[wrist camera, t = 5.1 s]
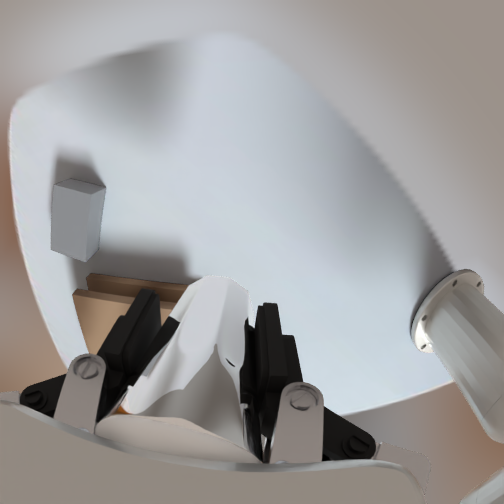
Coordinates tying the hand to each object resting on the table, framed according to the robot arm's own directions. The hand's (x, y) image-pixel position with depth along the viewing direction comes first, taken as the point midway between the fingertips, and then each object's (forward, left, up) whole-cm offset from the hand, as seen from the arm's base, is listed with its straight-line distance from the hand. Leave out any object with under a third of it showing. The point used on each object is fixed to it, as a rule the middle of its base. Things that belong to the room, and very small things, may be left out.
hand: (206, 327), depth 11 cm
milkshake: (0, 0, -2) cm, 2 cm away
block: (+13, 0, -13) cm, 18 cm away
